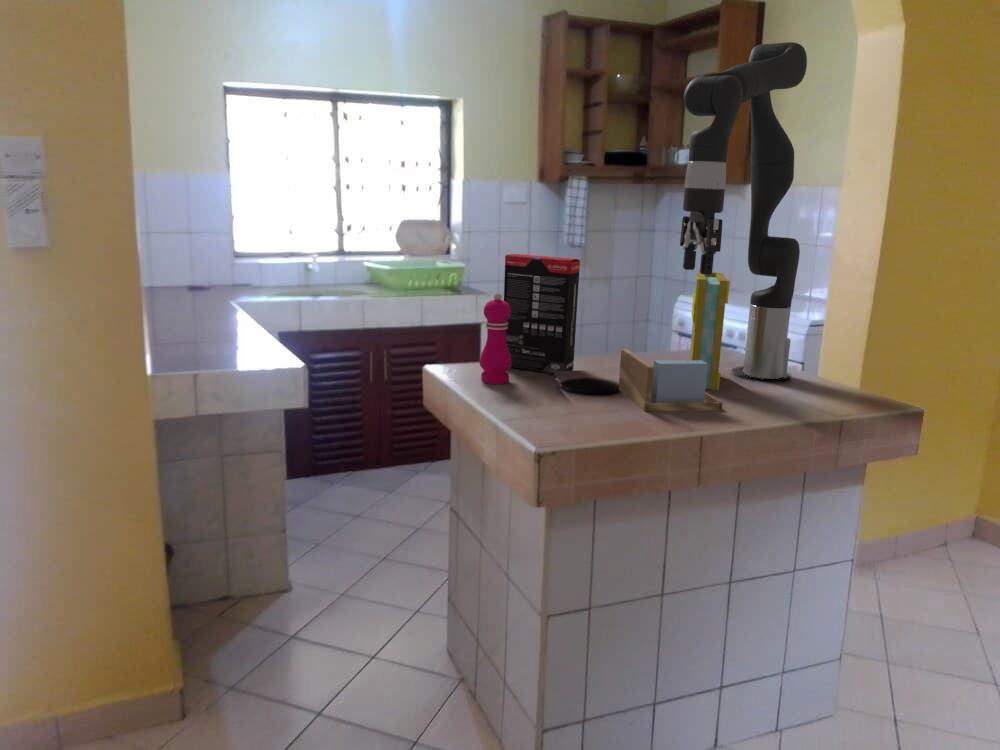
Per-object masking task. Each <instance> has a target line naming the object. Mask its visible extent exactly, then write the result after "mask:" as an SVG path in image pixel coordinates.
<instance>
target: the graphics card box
mask: <svg viewBox="0 0 1000 750" xmlns="http://www.w3.org/2000/svg"><path fill="white" fill-rule="evenodd" d="M580 267H581V260H580V259H578V258H570V257H560V256H547V255H535V254H523V253H520V254H519V253H508V254H505V255H504V281H503V282H504V283H503V284H504V285H503V301H505V302H507V303H508V304H509V306H510V309H511V314H510V317H509V318H508V319H507V321H506V322H508V324H507V325H508V328H507V329H506V334H505V335H506V344H507V347H508V349H509V352H510V355H511V359H512V365H511V367H510V368H515V369H521V370H527V371H534V372H541V373H544V374H552V375H554V374H555V373H554V372H572V371H573V370H574V364H575V363H574V361H575V348H576V347H575V346H576V332H577V331H576V329H577V312H578V297H579V284H580V283H579V282H580V269H581V268H580Z"/></svg>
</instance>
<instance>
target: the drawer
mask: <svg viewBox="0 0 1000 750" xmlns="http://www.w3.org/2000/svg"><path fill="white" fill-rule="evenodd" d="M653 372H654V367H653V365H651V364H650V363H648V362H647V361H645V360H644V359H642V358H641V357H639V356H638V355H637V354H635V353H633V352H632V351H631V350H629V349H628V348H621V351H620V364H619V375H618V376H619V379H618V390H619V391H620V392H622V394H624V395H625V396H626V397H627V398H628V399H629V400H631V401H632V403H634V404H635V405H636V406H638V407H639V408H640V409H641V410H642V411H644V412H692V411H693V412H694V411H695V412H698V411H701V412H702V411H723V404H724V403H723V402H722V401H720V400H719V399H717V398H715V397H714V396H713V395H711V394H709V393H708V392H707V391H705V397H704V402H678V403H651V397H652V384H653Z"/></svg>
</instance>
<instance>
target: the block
mask: <svg viewBox="0 0 1000 750" xmlns="http://www.w3.org/2000/svg"><path fill="white" fill-rule="evenodd" d="M653 363H654V372H653V384H652V397H651V403H678V402H704V397H705V392H706V389H705V387H706V376H707V366H708V364H707V363H706V362H704V361H702V360H689V359H688V360H686V359H685V360H684V359H682V360H681V359H680V360H679V359H677V360H673V359H672V360H670V359H669V360H668V359H665V360H664V359H663V360H660V359H659V360H658V359H657V360H653Z"/></svg>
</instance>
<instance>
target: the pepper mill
mask: <svg viewBox="0 0 1000 750" xmlns="http://www.w3.org/2000/svg"><path fill="white" fill-rule="evenodd" d="M502 296H503V295H502V294H501V293H500V292H495V293H494V295H493V299H491V300H489V301H488V302H487V303H485V305H484V307H483V315H484V318H486V321H485V328H486V329H487V330H486V333H487V336H486V342H485V345H484V347H483V349H482V351H481V354H480V356H479V366H480V367H481V369H482V370H483V371H482V372H481V374H480V375H481V376H480V380H481V382H483V383H484V382H485V384H488V383H490V385H502V384H504V385H505V384H507V383H509V381H510V373H509V372H508V370H509V369H511V368H512V367H511V365H512V359H511V355H510V352H509V349H508V347H507V344H506V335H505V334H506V329H507V328H508V325H507V324H508V322H506V321H507V319H508V318H509V317H510V314H511V309H510V306H509V304H508V303H507V302H505V301H504V299H502Z"/></svg>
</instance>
